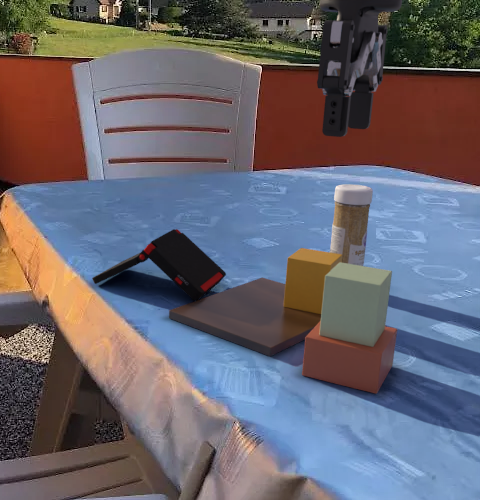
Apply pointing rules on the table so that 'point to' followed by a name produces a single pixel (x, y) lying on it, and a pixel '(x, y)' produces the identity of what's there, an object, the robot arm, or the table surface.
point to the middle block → (355, 303)
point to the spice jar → (351, 222)
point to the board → (250, 317)
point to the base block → (349, 360)
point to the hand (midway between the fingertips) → (346, 132)
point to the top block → (308, 278)
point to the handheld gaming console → (175, 264)
